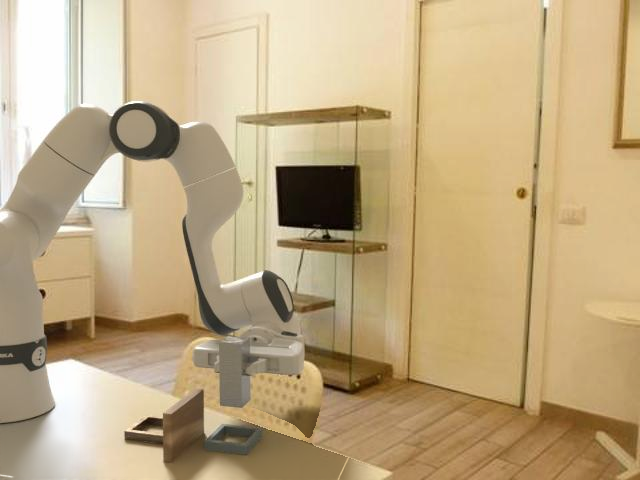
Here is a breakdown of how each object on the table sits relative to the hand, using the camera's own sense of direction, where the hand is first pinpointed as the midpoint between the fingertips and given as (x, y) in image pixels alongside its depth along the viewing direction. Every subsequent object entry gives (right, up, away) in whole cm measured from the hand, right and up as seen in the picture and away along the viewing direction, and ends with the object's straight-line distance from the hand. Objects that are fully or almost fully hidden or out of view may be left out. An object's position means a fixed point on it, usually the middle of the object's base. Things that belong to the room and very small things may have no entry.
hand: (232, 370), depth 104 cm
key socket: (-15, -13, +6) cm, 20 cm away
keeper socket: (0, -13, +2) cm, 13 cm away
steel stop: (0, -6, +1) cm, 6 cm away
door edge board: (-8, -13, +1) cm, 16 cm away
